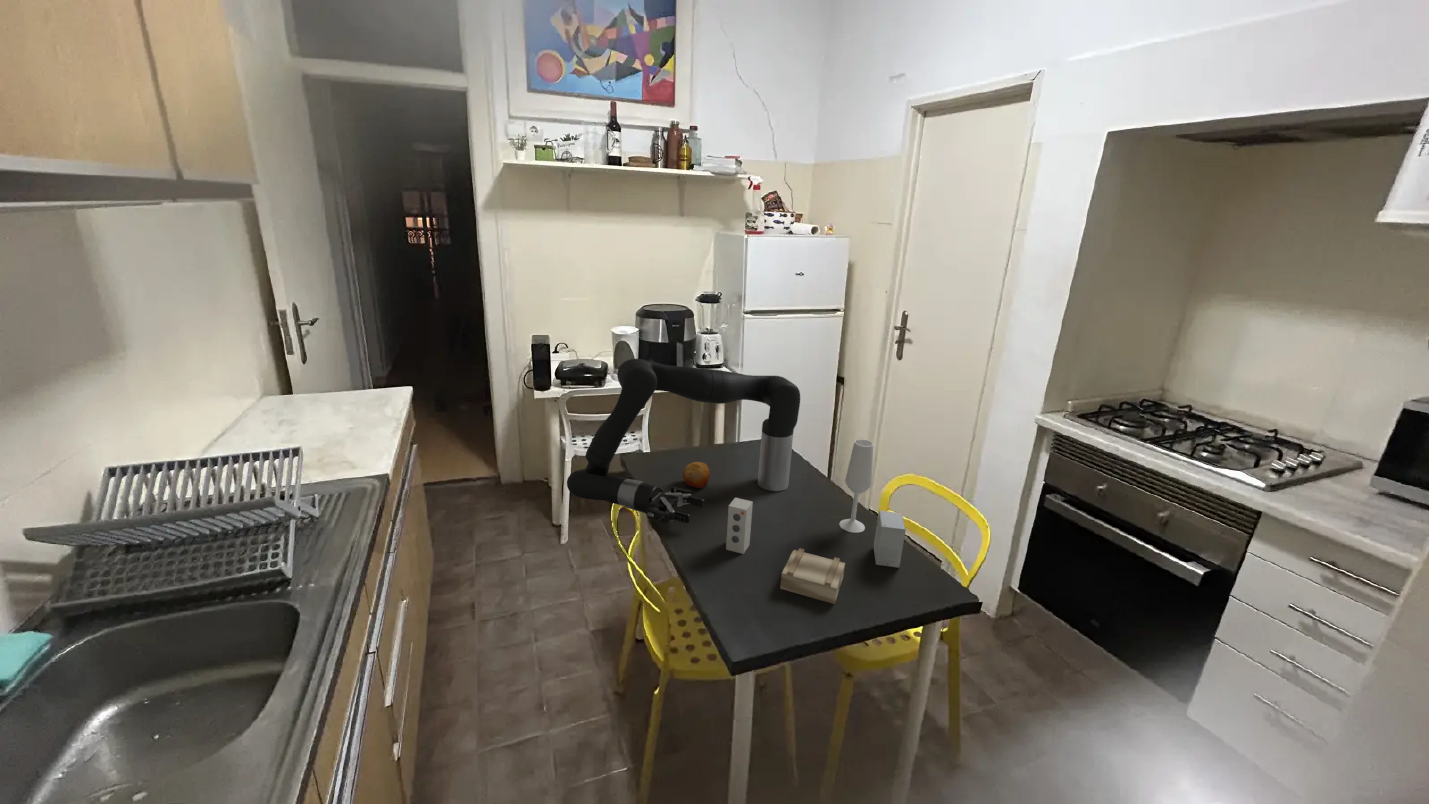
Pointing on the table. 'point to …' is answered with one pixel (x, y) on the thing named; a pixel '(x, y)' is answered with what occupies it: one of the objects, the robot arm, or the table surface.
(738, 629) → the table surface
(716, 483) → the table surface
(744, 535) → the tall grey box
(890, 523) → the small box
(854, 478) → the champagne flute
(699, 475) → the fruit
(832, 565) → the brown wooden ridged block
